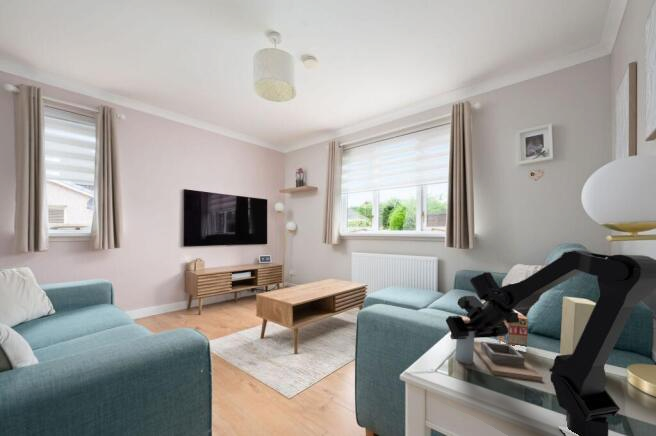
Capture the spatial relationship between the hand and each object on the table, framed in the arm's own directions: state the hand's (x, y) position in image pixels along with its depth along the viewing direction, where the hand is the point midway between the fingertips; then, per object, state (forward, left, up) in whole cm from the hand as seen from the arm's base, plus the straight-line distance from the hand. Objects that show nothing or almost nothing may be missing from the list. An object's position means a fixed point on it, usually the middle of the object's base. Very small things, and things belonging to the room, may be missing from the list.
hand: (462, 337), depth 88 cm
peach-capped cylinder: (-1, -1, -7) cm, 7 cm away
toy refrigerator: (+5, -37, -7) cm, 38 cm away
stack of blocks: (+22, -22, -7) cm, 31 cm away
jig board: (+2, -13, -7) cm, 14 cm away
